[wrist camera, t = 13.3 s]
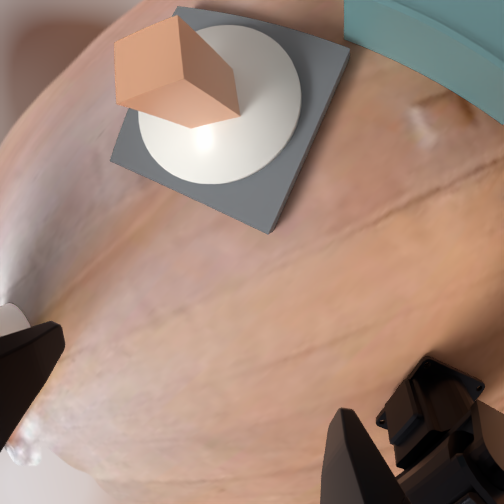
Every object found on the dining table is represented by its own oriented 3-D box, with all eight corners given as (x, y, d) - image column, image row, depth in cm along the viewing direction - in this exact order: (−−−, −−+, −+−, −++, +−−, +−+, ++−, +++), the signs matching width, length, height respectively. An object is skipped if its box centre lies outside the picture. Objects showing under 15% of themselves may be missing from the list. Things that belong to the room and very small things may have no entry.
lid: (284, 14, 15) (252, -65, 8) (315, 169, 17) (301, 154, 10) (140, 58, 18) (62, 19, 11) (154, 197, 20) (66, 207, 12)
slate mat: (349, 58, 16) (350, 48, 15) (272, 231, 20) (268, 234, 18) (186, 14, 18) (177, 6, 17) (122, 161, 21) (109, 161, 20)
